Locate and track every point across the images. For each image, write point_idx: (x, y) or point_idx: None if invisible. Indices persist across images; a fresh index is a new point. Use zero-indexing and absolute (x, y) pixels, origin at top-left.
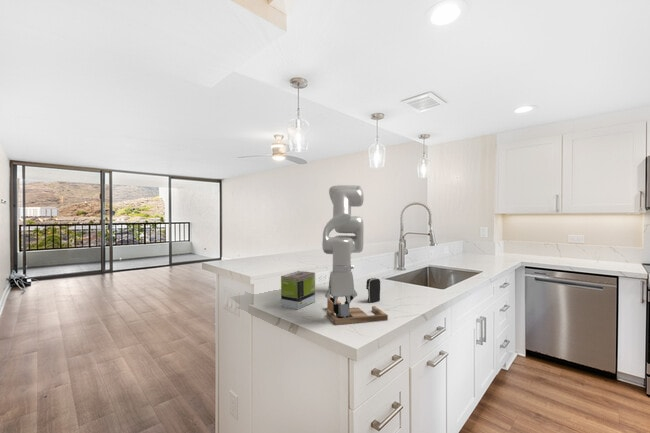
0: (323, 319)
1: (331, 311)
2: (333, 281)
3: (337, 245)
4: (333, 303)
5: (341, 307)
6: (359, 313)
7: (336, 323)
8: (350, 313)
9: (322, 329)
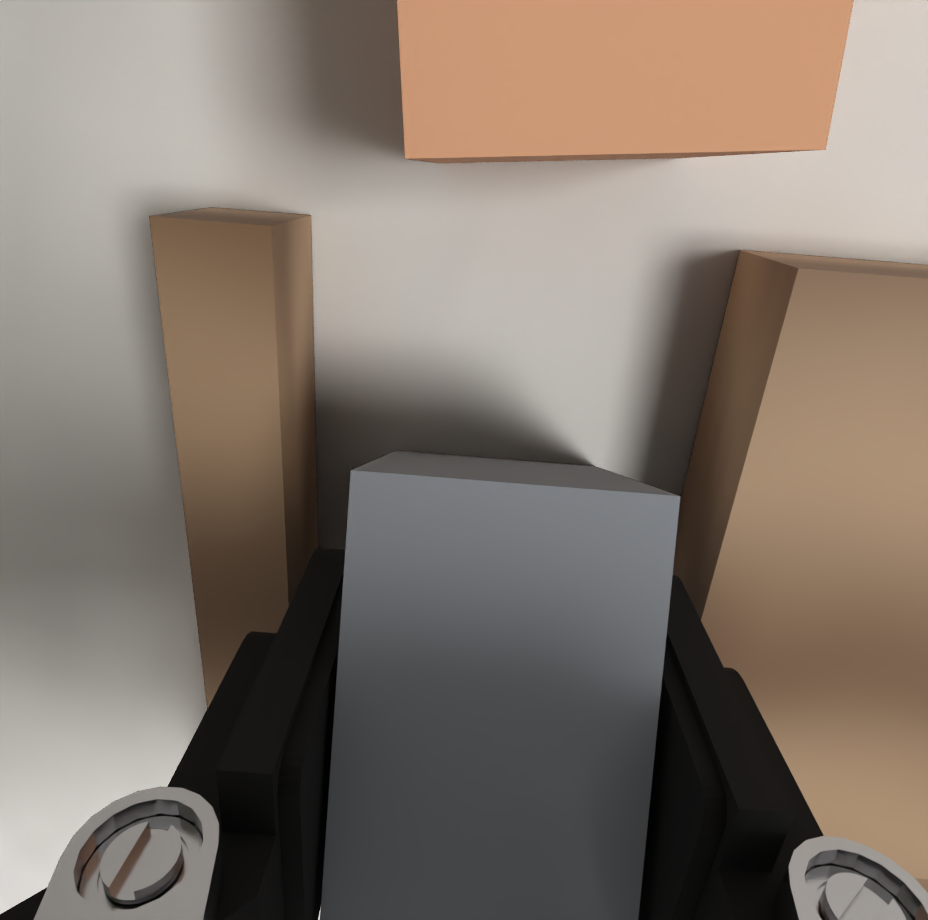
0: (80, 500)
1: (270, 405)
2: None
3: None
4: (155, 824)
5: None
6: (903, 746)
7: None
8: None
9: (26, 854)
